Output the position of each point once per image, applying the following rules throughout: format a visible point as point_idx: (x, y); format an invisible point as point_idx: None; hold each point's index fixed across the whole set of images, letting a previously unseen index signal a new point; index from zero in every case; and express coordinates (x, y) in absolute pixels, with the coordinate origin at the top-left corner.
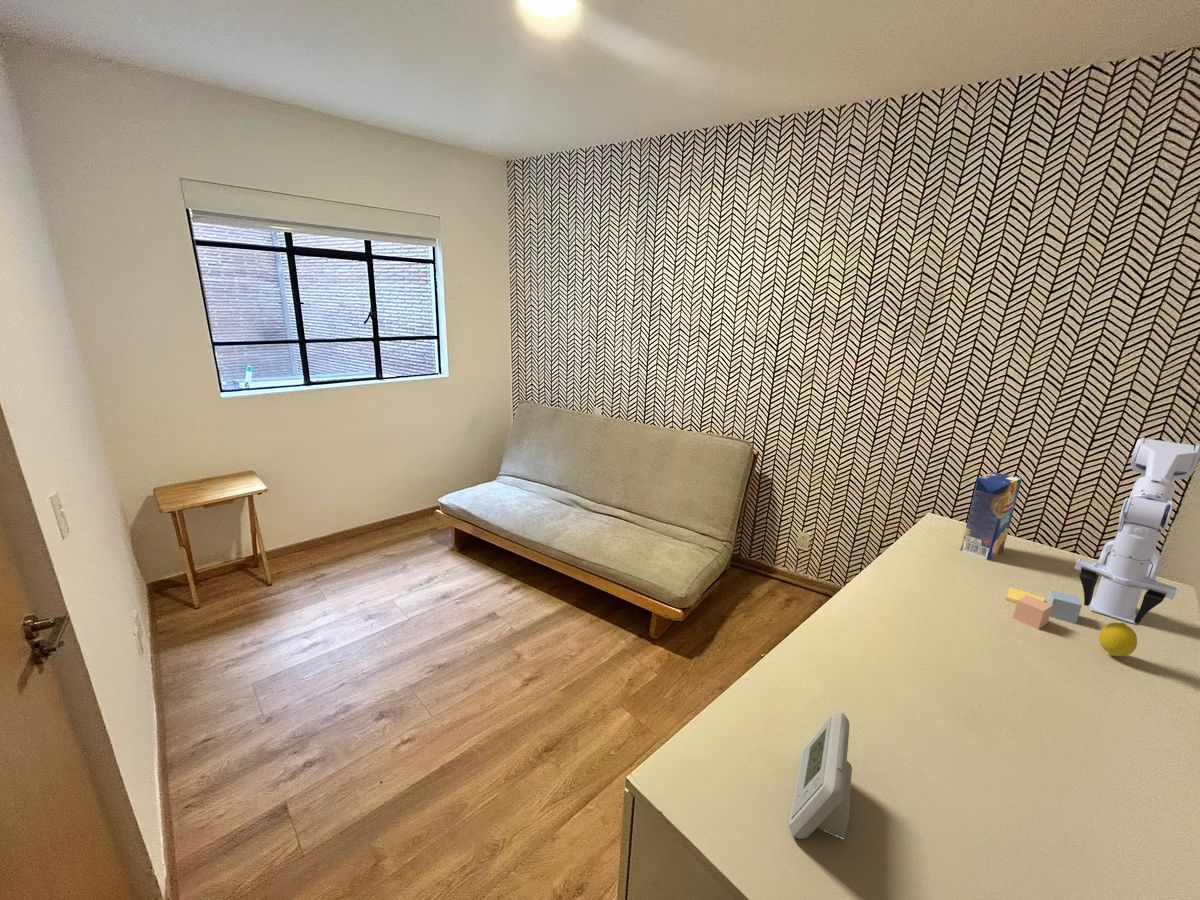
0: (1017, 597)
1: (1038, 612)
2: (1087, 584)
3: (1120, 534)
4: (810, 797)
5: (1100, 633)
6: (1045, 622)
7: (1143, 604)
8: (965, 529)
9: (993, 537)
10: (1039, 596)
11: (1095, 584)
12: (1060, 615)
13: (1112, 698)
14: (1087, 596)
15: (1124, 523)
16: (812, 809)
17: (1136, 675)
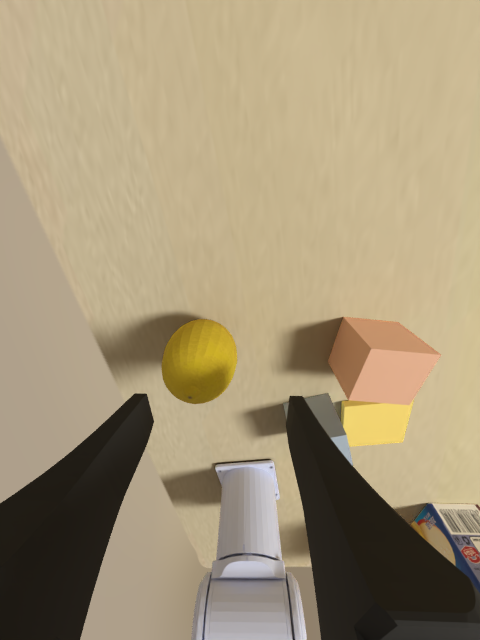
0: (390, 414)
1: (375, 342)
2: (368, 519)
3: None
4: None
5: (234, 351)
6: (335, 353)
7: (55, 496)
8: None
9: (473, 574)
10: (350, 445)
11: (309, 539)
12: (312, 404)
13: (135, 60)
14: (313, 433)
15: None
16: None
17: (154, 285)
